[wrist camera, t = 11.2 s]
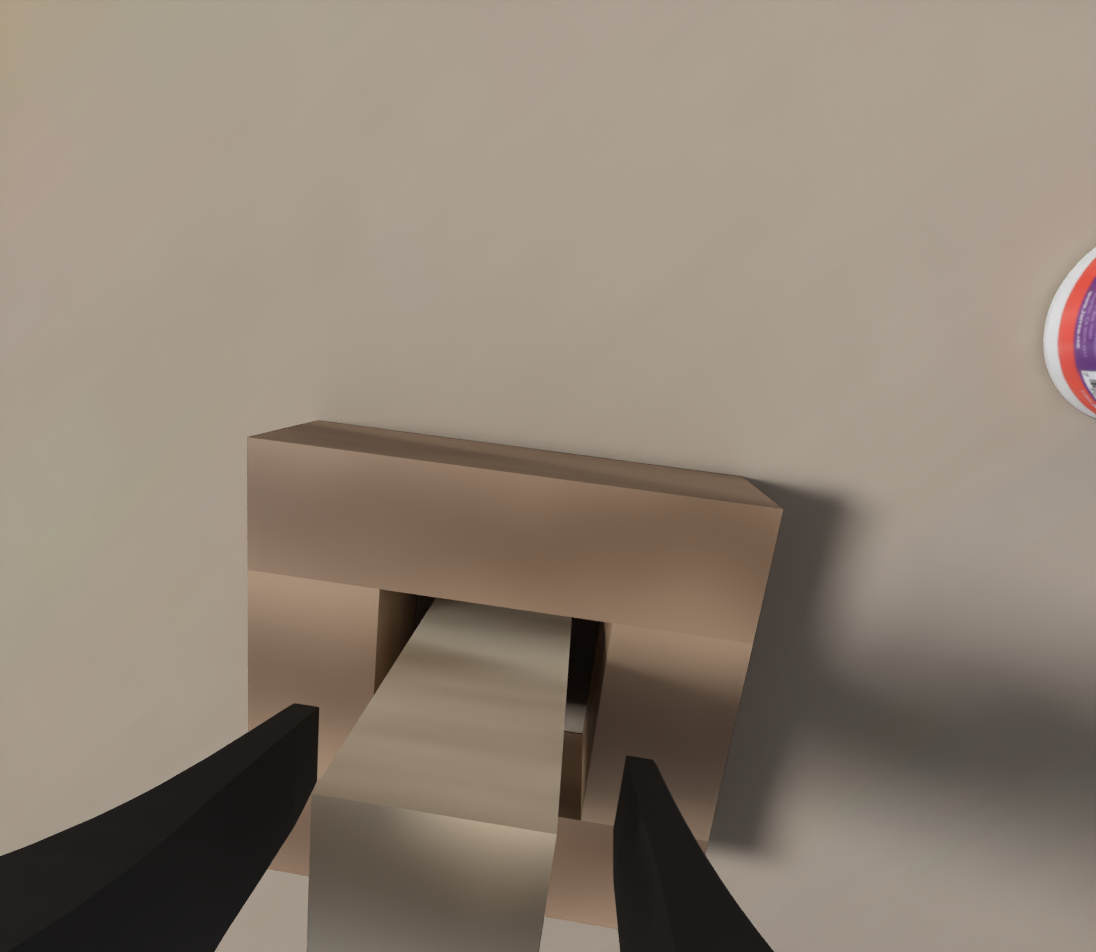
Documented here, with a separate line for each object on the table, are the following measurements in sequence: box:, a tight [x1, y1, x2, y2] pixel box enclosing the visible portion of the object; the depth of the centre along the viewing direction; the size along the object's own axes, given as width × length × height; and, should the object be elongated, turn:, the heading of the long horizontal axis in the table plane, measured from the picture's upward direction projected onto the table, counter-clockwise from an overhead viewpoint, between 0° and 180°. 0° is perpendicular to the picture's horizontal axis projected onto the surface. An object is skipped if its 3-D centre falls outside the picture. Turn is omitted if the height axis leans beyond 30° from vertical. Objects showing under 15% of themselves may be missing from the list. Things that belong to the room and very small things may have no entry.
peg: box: [307, 597, 572, 952], centre depth 14 cm, size 4×4×9 cm
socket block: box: [247, 421, 783, 929], centre depth 16 cm, size 13×13×4 cm
